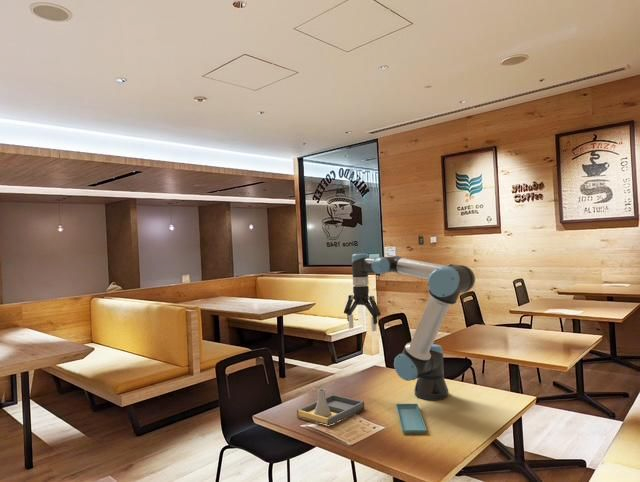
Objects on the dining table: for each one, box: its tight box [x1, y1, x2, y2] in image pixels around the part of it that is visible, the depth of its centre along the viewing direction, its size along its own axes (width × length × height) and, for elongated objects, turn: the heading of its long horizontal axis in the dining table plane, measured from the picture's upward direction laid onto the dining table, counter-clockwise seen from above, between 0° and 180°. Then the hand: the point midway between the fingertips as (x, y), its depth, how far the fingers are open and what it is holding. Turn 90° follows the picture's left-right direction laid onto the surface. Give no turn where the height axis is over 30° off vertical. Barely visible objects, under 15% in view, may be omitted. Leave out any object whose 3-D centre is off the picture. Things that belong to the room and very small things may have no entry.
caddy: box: [296, 394, 365, 425], centre depth 190 cm, size 17×23×3 cm
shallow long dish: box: [395, 403, 428, 435], centre depth 179 cm, size 26×9×2 cm, turn 175°
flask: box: [314, 388, 331, 417], centre depth 186 cm, size 7×7×10 cm
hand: (362, 329), depth 220 cm, fingers open, 13 cm apart
